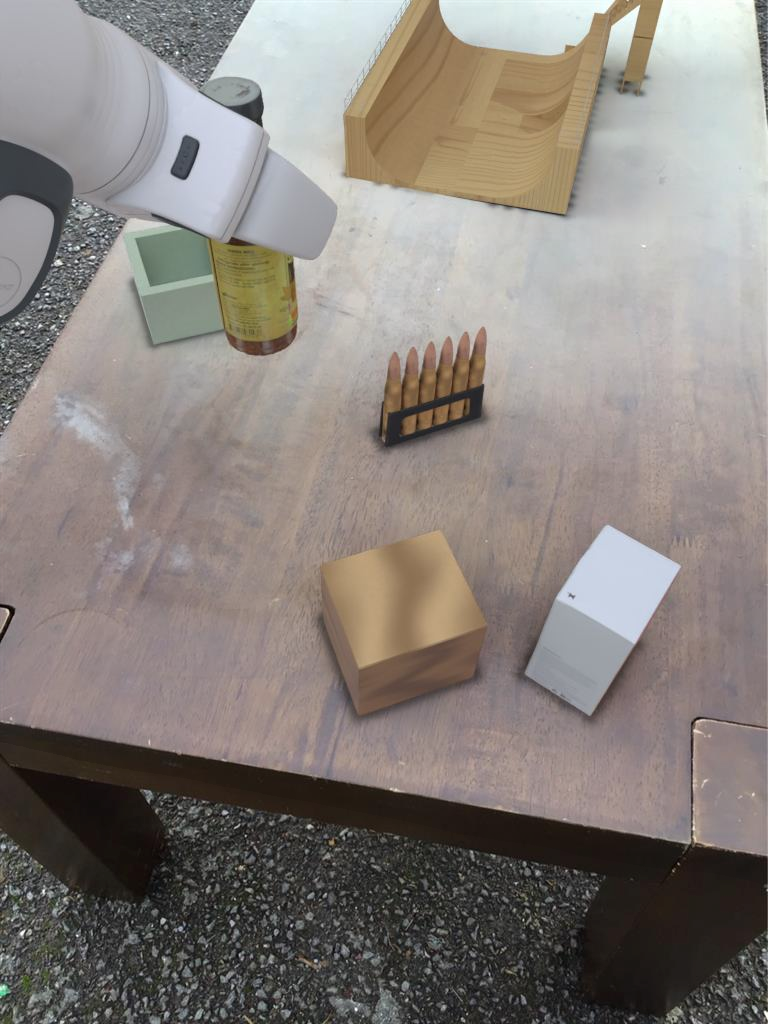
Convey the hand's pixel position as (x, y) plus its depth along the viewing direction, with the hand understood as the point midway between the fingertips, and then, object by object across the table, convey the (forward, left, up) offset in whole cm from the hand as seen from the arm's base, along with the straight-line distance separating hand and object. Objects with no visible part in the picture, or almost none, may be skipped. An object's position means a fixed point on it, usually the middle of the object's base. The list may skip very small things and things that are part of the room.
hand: (251, 204), depth 59 cm
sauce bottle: (-1, 0, -12) cm, 12 cm away
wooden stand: (+3, -24, -27) cm, 37 cm away
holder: (-4, +24, -27) cm, 36 cm away
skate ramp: (+47, +48, -27) cm, 72 cm away
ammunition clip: (+15, -2, -27) cm, 31 cm away
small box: (+17, -30, -27) cm, 44 cm away
